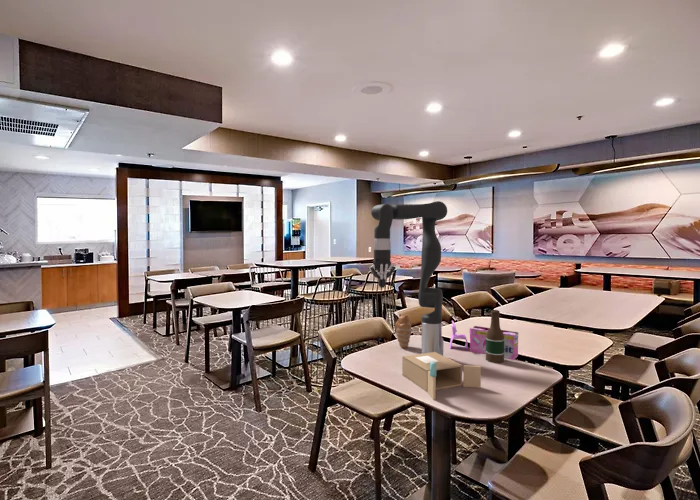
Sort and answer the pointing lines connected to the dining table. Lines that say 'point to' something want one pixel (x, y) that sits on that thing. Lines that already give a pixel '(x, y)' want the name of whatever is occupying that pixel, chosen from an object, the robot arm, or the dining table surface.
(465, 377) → the flap
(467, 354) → the dining table surface
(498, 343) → the beer bottle
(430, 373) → the flap
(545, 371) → the dining table surface
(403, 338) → the brown ridged tapered piece
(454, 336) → the chair
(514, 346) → the gum box
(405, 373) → the carton
